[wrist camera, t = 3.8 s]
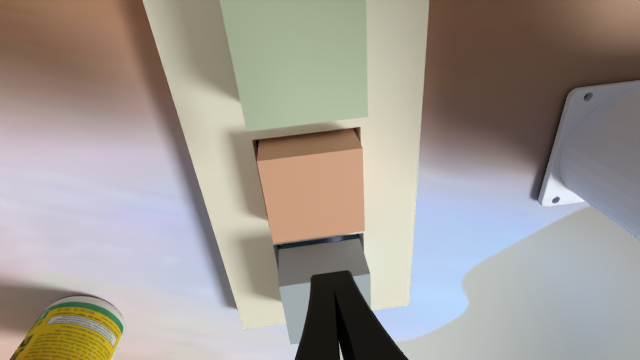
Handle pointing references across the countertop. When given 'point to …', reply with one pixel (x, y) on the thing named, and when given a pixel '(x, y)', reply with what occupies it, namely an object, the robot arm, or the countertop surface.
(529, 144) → the countertop surface
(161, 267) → the countertop surface
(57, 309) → the supplement bottle
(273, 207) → the terracotta button
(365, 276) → the slate button
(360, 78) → the sage button
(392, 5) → the panel
